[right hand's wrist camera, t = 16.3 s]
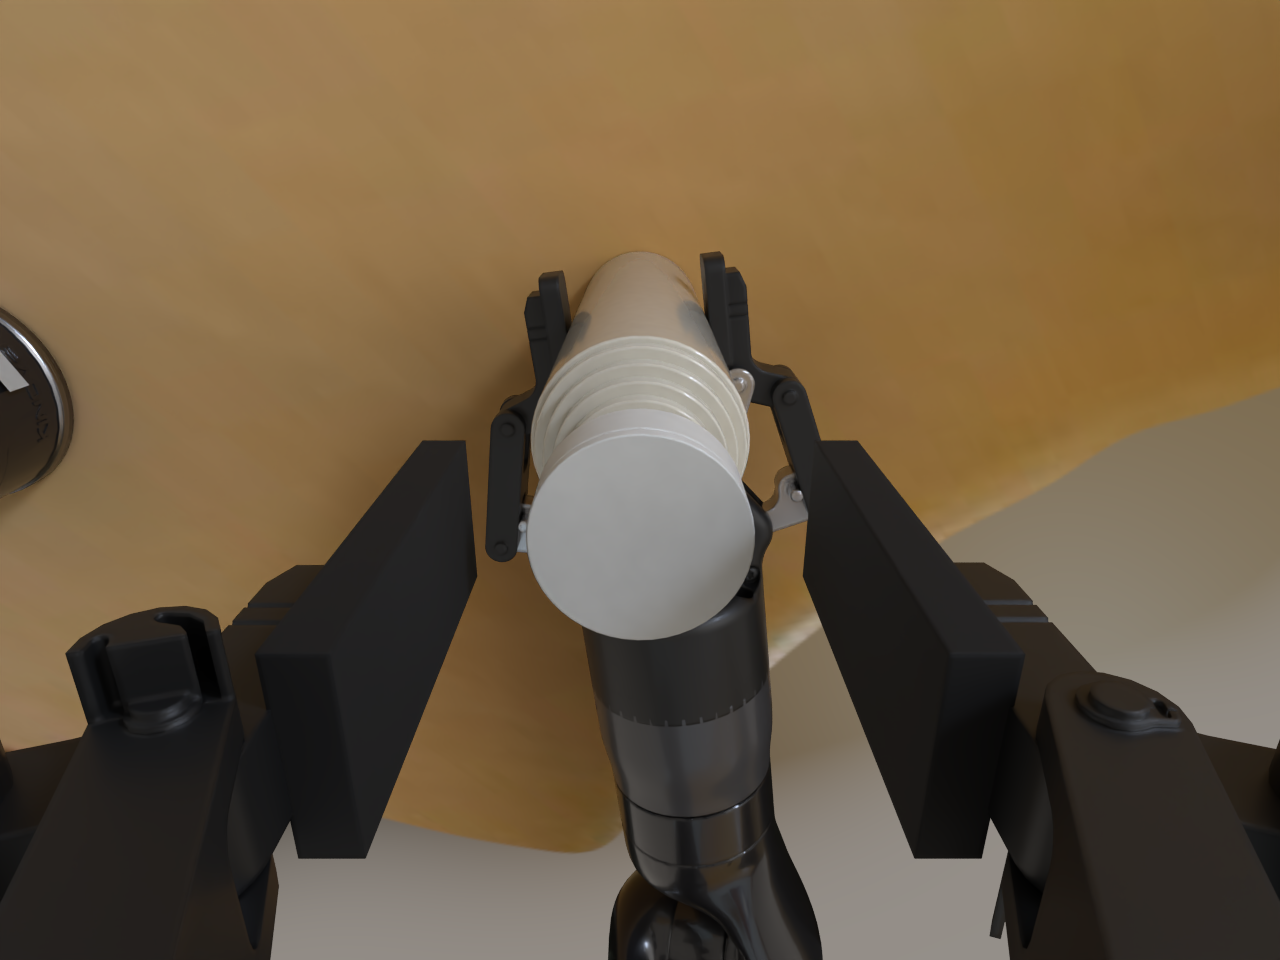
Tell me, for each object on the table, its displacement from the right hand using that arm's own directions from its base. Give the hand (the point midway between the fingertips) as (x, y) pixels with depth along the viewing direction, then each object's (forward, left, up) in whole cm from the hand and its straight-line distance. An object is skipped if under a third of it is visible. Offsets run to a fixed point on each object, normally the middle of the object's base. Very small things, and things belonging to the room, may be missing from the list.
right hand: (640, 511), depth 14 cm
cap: (0, 0, +1) cm, 1 cm away
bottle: (0, 0, -21) cm, 21 cm away
